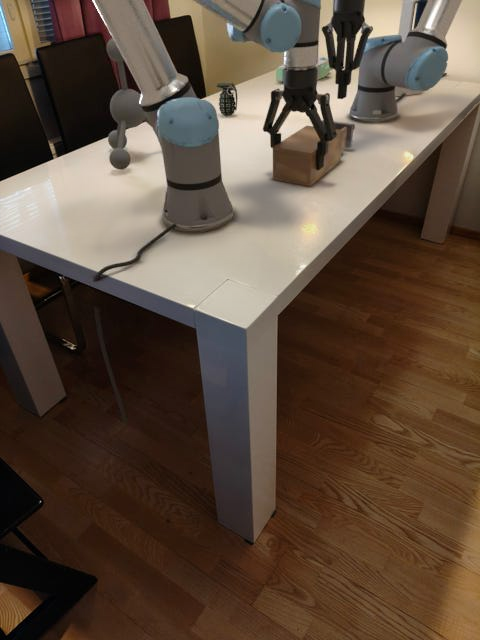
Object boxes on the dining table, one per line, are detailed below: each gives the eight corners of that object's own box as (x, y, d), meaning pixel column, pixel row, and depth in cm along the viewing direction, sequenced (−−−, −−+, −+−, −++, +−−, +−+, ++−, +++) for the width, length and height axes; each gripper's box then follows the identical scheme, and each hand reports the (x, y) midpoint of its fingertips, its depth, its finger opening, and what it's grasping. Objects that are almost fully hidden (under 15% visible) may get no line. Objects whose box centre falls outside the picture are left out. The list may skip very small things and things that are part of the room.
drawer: (330, 136, 144) (331, 114, 140) (359, 140, 140) (362, 117, 136) (293, 162, 128) (294, 138, 125) (325, 168, 124) (327, 143, 120)
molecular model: (192, 161, 135) (179, 37, 117) (113, 175, 129) (86, 48, 111) (170, 137, 153) (156, 27, 134) (100, 149, 147) (74, 35, 128)
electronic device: (392, 97, 177) (405, -1, 159) (382, 92, 183) (394, -3, 165) (423, 93, 180) (439, -4, 161) (412, 88, 185) (426, -6, 167)
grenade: (217, 117, 168) (214, 86, 162) (221, 112, 172) (219, 82, 166) (235, 117, 166) (233, 86, 160) (239, 113, 171) (238, 82, 165)
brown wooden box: (305, 155, 135) (306, 125, 130) (340, 161, 130) (343, 130, 125) (272, 179, 123) (272, 147, 118) (310, 186, 118) (311, 153, 113)
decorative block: (298, 54, 217) (339, 57, 208) (298, 70, 221) (338, 74, 211) (267, 65, 201) (310, 69, 191) (267, 82, 205) (309, 87, 195)
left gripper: (357, 66, 104) (348, 166, 118) (262, 60, 115) (264, 153, 128) (344, 73, 99) (336, 177, 113) (246, 66, 110) (249, 162, 123)
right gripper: (381, -9, 117) (369, 96, 131) (330, -9, 122) (325, 92, 137) (370, -6, 112) (359, 103, 126) (318, -6, 118) (313, 98, 132)
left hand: (298, 164), depth 121 cm, fingers open, 11 cm apart
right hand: (341, 97), depth 132 cm, fingers closed
